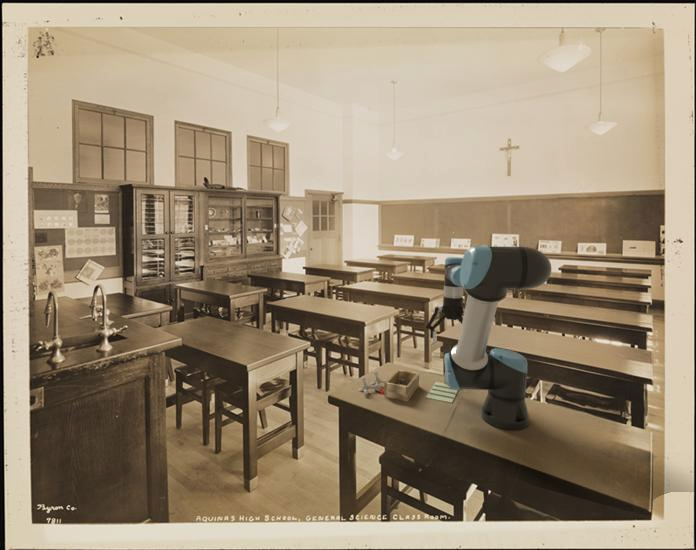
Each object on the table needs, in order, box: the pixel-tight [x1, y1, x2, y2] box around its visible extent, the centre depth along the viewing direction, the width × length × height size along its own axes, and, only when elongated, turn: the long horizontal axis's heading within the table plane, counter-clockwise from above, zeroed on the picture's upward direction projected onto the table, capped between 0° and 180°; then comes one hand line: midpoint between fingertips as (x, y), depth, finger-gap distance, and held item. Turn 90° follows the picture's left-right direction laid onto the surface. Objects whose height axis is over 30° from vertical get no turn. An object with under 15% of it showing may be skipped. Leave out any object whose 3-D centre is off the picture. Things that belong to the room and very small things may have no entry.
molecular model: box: [357, 370, 388, 395], centre depth 158 cm, size 14×8×10 cm
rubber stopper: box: [400, 379, 406, 385], centre depth 161 cm, size 2×2×3 cm
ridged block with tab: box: [425, 372, 460, 404], centre depth 159 cm, size 10×22×5 cm, turn 155°
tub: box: [383, 369, 420, 403], centre depth 157 cm, size 9×15×6 cm, turn 155°
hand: (450, 348), depth 164 cm, fingers open, 13 cm apart
